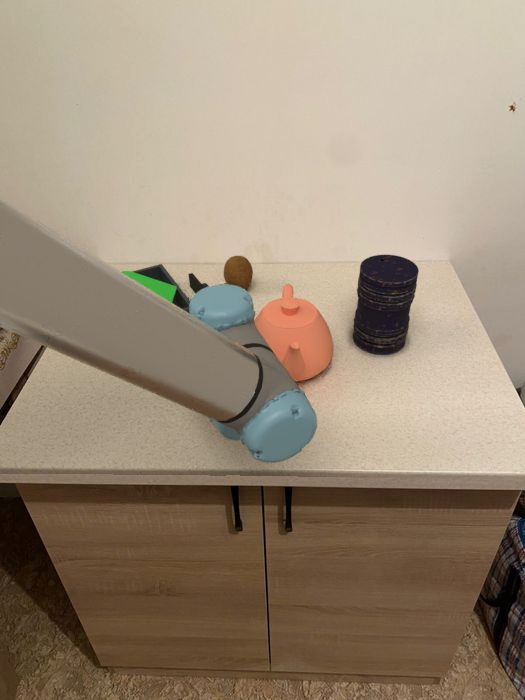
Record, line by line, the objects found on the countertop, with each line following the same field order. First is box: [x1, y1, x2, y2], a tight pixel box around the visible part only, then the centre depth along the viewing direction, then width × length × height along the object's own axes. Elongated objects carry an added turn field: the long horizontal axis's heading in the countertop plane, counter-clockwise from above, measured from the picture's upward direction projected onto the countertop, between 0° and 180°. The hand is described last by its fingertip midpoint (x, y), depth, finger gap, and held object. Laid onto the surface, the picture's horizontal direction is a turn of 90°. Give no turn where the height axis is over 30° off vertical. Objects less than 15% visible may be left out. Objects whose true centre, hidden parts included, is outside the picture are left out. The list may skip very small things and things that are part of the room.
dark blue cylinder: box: [352, 254, 420, 356], centre depth 89 cm, size 10×10×15 cm
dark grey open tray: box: [131, 263, 191, 314], centre depth 101 cm, size 14×20×5 cm
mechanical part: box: [121, 270, 177, 303], centre depth 95 cm, size 12×6×8 cm
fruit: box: [223, 255, 254, 290], centre depth 106 cm, size 6×6×8 cm
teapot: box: [254, 283, 334, 383], centre depth 85 cm, size 22×15×12 cm
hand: (155, 289), depth 89 cm, fingers open, 13 cm apart
